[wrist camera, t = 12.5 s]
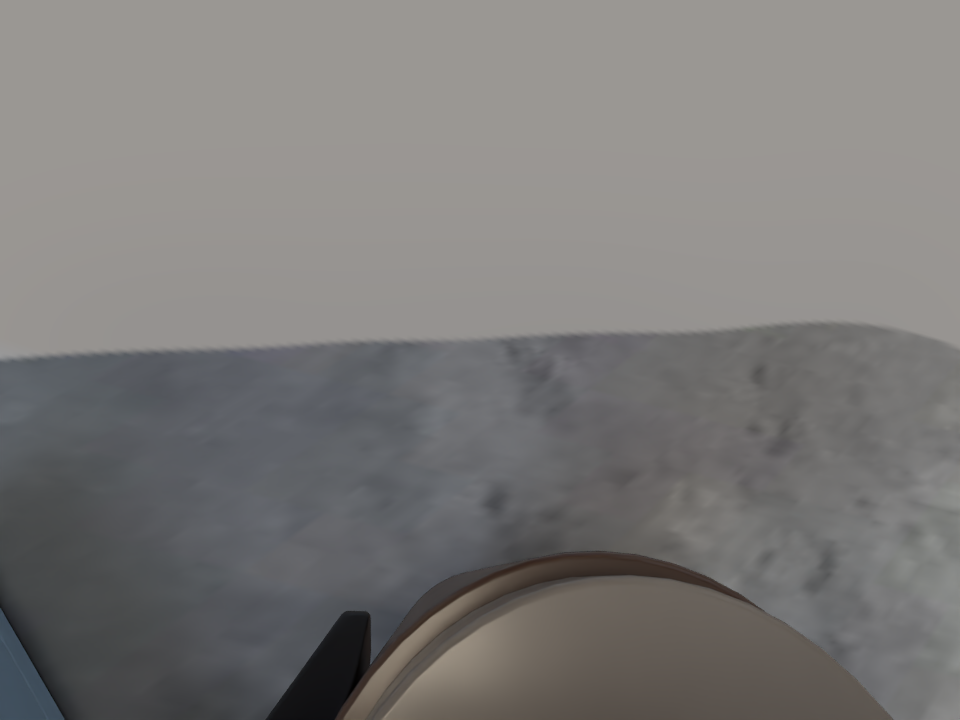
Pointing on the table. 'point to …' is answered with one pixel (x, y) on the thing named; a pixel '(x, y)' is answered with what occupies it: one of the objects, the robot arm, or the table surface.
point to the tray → (21, 682)
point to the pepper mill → (600, 650)
